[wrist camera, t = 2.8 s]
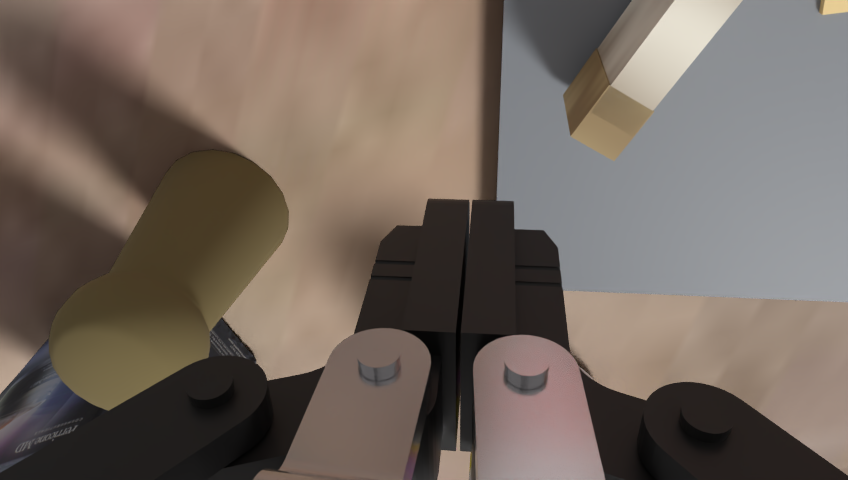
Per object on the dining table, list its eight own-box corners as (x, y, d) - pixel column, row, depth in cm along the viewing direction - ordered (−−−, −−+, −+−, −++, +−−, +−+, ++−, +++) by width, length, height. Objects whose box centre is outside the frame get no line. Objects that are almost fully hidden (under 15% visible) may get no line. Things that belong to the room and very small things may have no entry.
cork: (146, 147, 30) (-14, 303, 20) (279, 151, 29) (174, 314, 20) (177, 259, 33) (50, 436, 24) (296, 264, 32) (213, 448, 23)
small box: (187, 270, 33) (74, 437, 25) (262, 359, 36) (185, 537, 28) (42, 333, 37) (-101, 498, 28) (121, 409, 40) (13, 580, 31)
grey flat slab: (520, -443, 18) (521, -461, 17) (1311, -498, 16) (1378, -523, 15) (494, 271, 31) (493, 291, 30) (927, 288, 29) (945, 310, 28)
